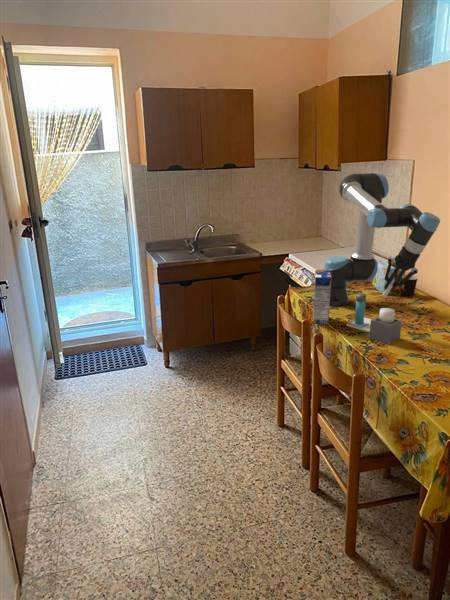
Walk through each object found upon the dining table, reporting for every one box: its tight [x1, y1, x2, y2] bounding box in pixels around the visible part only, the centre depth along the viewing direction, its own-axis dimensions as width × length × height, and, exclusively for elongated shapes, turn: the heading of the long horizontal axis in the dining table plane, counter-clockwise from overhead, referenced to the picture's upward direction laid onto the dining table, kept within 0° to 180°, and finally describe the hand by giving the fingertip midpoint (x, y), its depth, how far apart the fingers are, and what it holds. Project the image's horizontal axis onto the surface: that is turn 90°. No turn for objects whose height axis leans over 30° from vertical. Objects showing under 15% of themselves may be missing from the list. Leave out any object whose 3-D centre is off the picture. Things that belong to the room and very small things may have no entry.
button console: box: [368, 316, 403, 345], centre depth 187 cm, size 9×9×8 cm
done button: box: [378, 307, 396, 324], centre depth 185 cm, size 6×6×5 cm
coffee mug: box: [399, 274, 419, 298], centre depth 245 cm, size 12×9×10 cm
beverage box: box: [312, 271, 332, 326], centre depth 205 cm, size 7×11×22 cm, turn 169°
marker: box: [354, 293, 367, 325], centre depth 200 cm, size 4×4×13 cm
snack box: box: [371, 259, 396, 296], centre depth 254 cm, size 21×6×15 cm, turn 179°
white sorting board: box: [346, 316, 373, 334], centre depth 202 cm, size 14×14×1 cm
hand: (384, 295), depth 195 cm, fingers closed
